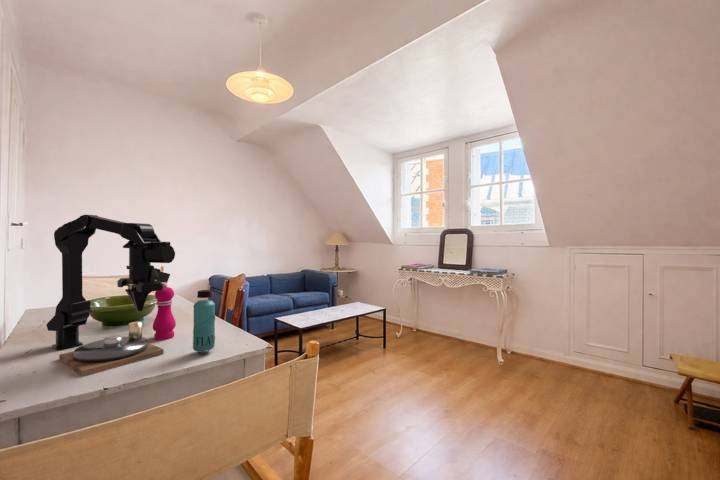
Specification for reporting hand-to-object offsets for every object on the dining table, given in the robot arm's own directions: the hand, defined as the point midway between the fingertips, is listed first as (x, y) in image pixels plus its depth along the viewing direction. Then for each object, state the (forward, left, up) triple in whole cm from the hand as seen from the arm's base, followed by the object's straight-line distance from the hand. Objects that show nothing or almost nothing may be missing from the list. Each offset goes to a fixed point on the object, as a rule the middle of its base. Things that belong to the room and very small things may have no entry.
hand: (139, 311), depth 103 cm
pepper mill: (-8, +11, -13) cm, 19 cm away
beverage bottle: (+18, +11, -13) cm, 25 cm away
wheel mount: (-1, -7, -13) cm, 15 cm away
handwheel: (-1, -7, -11) cm, 13 cm away
